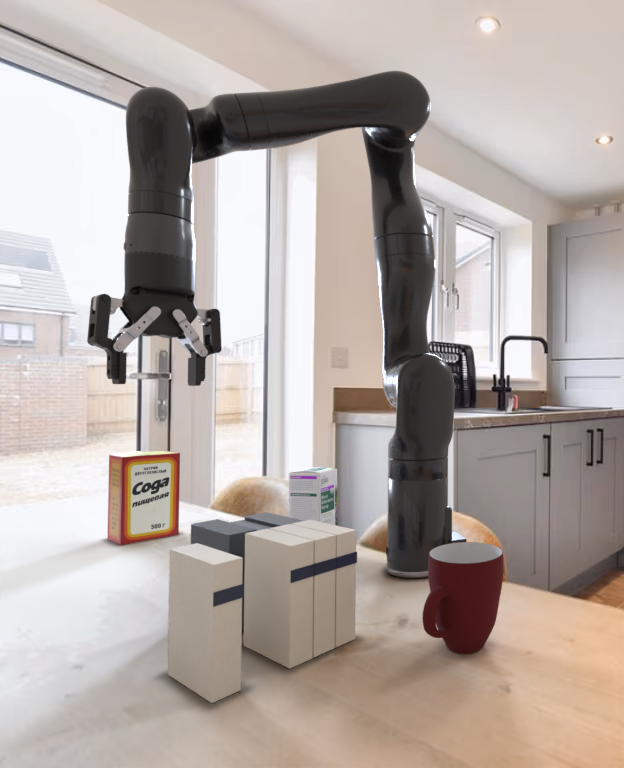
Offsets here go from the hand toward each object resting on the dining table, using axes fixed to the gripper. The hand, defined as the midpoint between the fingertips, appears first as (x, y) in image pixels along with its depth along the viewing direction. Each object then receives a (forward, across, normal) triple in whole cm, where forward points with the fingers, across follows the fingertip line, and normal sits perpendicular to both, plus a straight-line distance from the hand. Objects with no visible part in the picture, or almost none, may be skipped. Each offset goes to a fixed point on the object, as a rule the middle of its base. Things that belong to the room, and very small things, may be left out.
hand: (158, 385), depth 68 cm
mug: (+28, +14, -38) cm, 49 cm away
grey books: (+28, +6, -11) cm, 31 cm away
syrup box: (+28, +25, +4) cm, 38 cm away
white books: (+28, +5, -23) cm, 36 cm away
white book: (+28, -5, -22) cm, 36 cm away
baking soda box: (+28, +14, +40) cm, 51 cm away
